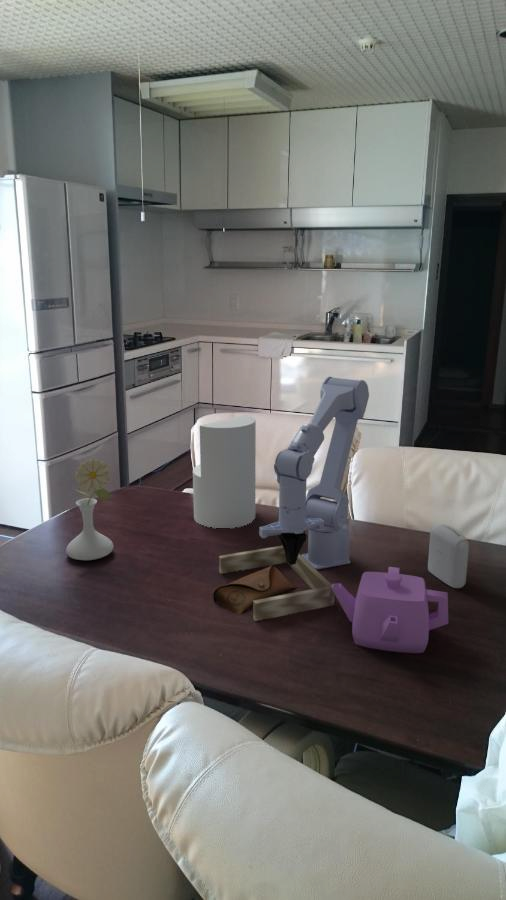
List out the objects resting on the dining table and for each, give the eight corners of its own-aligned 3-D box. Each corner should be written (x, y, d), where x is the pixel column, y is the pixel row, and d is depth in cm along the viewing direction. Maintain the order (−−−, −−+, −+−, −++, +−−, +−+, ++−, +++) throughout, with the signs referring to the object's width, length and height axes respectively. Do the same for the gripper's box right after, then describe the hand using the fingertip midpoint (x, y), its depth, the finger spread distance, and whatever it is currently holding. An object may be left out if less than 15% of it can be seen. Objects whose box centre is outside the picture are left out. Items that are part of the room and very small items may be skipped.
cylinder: (268, 516, 182) (268, 419, 174) (223, 534, 170) (222, 431, 162) (225, 501, 193) (224, 410, 185) (181, 517, 181) (178, 420, 173)
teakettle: (453, 641, 122) (459, 582, 118) (388, 670, 113) (392, 608, 110) (389, 603, 136) (393, 549, 132) (326, 626, 127) (328, 569, 123)
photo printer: (424, 570, 150) (428, 520, 146) (440, 567, 151) (444, 518, 148) (451, 590, 141) (457, 538, 137) (468, 587, 142) (473, 535, 139)
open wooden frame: (289, 559, 155) (289, 544, 154) (334, 605, 135) (334, 587, 133) (219, 571, 149) (219, 555, 148) (255, 621, 128) (255, 603, 127)
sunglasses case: (239, 616, 130) (228, 584, 131) (220, 620, 135) (209, 590, 136) (299, 586, 142) (289, 558, 143) (279, 591, 147) (269, 563, 148)
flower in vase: (56, 560, 155) (47, 461, 148) (85, 541, 165) (77, 448, 158) (102, 569, 150) (94, 467, 143) (128, 550, 160) (123, 454, 153)
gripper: (268, 515, 132) (267, 575, 136) (331, 506, 137) (329, 565, 141) (255, 504, 138) (255, 562, 142) (316, 496, 143) (314, 552, 147)
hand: (291, 562), depth 142 cm, fingers closed
